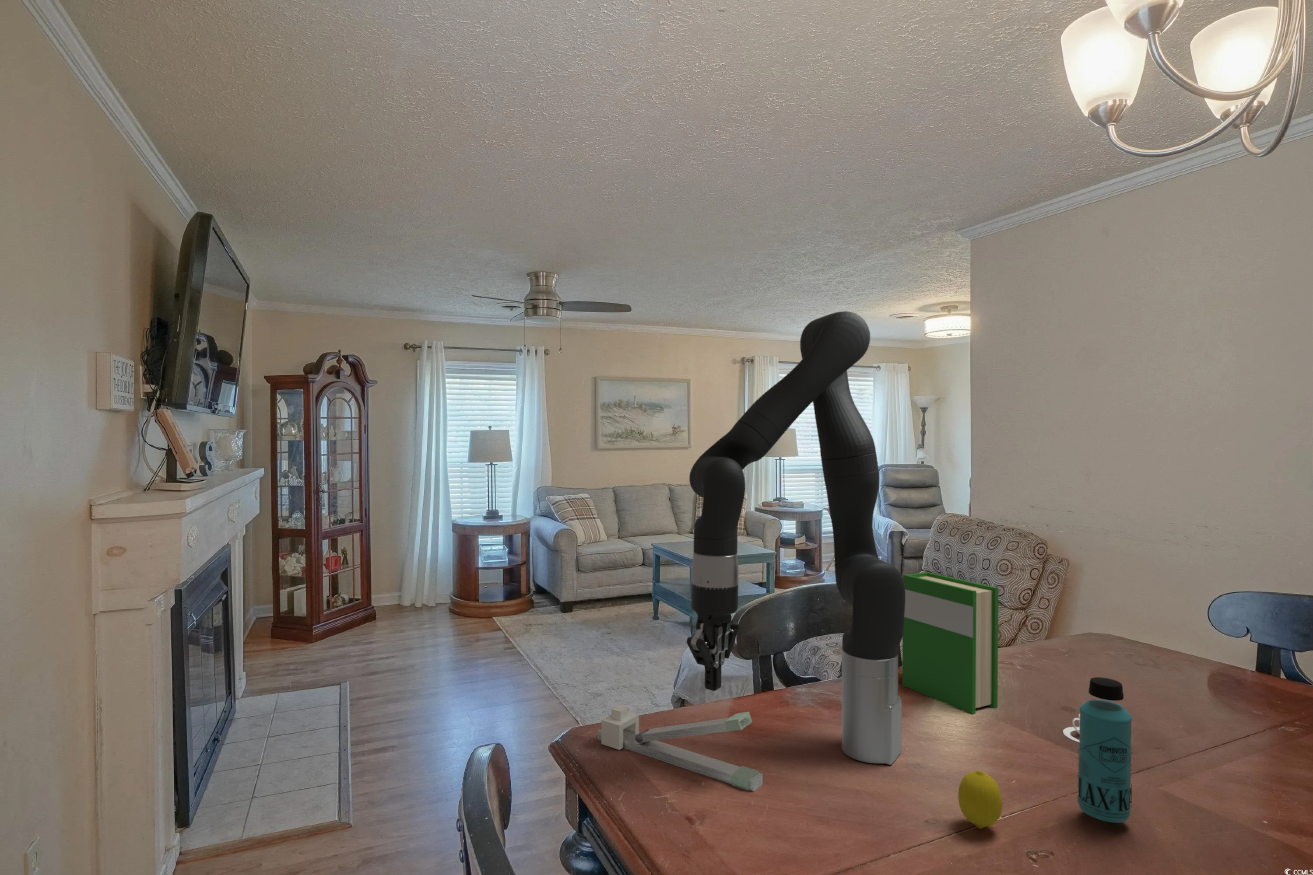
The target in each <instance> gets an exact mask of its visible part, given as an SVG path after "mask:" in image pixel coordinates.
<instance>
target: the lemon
mask: <svg viewBox="0 0 1313 875" xmlns="http://www.w3.org/2000/svg"><path fill="white" fill-rule="evenodd" d="M959 783H960V784H959V787H958V795H957V797H958V799H957V800H958V805H959V808H960V811H961V812H962V814H963V816H964V817H965V819H966V820H968V821H969V822H970V823H972V824H973V825H974V826H975V827H976V828H978V829H981V830H982V829H983V828H985V827H991V826H993V825H995V824H996V823H997V822H998V821H999V819H1000V818H1001V815H1002V810H1003V797H1002V793H1001V788H1000V786H999V785H998V783H997V781H996V780H995V779H994V778H993V777H992V776H990V775H989V774H987V773H986V772H984V771H983V770H981V769H977V770H976V771H975V770H974V771H969V772H968V773H967V774H965V775H964V776H963V777H962V779H961V781H960V782H959Z"/></svg>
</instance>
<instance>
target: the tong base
mask: <svg viewBox="0 0 1313 875" xmlns="http://www.w3.org/2000/svg"><path fill="white" fill-rule="evenodd" d="M649 730H650V729H649V728H646V729H644V730H642V731H639V734H634V733H631V732H628V731H625V730H623V748H622V749H624V750H629V751H630V752H634V753H637V754H640V755H643V756H646V757H650V758H652V759H655V760H657V761H661V762H664V763H667V764H671V765H673V766H676V767H679V768H682V769H685V770H687V771H691V772H694V773H695V774H696V773H697V774H700V775H702V776H706V777H709V778H712V779H714V780H715V779H716V780H718V781H720V782H724V783H727V784H730V785H731V786H732V787H735V788H738V789H741V790H744V791H746V792H747V791H748V792H750V791H751V792H755V791H756V790H758V788H760V786H762V785H763V784H764V783H763V782H764V779H763V776H764V774H763V773H760V771H759V770H757V769H754V768H750V767H747V766H744V765H742V766H738V765H736V764H732V763H729V762H725V761H722V760H719V759H716V758H713V757H710V756H706V755H704V754H701V753H698V752H694V751H691V750H688V749H685V748H681V747H678V746H675V745H672V744H668V743H666V742H663V741H660V740H655V741H647V742H643V739H642V734H644V733H645V732H647V731H649ZM596 732H597V733H596V734H597V735H596V736H597V737H596V738H597V740H598V741H601V729H599V730H597V731H596Z"/></svg>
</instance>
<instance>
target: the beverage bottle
mask: <svg viewBox="0 0 1313 875" xmlns="http://www.w3.org/2000/svg"><path fill="white" fill-rule="evenodd" d="M1088 693H1089V695H1091V696H1092V697H1095V699H1094V698H1093V699H1090V700H1087V701H1085V702H1084V703H1083V704H1081V705H1080V706H1079V712H1080V713H1079V714H1080V730H1079V732H1080V734H1079V739H1078V740H1079V742H1078V743H1079V746H1078V751H1077V753H1078V756H1077V767H1078V771H1077V774H1076V775H1077V788H1078V789H1077V797H1076V802H1077V804H1078V807H1079V809H1080V810H1081V811H1082V812H1083V813H1085V814H1086V815H1087V816H1090V817H1091V818H1095V819H1097V820H1099V821H1104V822H1109V823H1118V824H1119V823H1125V822H1127V821H1128V820H1129V818H1130V816H1131V815H1132V796H1133V795H1132V793H1133V792H1132V791H1133V789H1132V788H1133V787H1132V786H1133V785H1132V783H1131V781H1132V775H1133V774H1132V755H1133V749H1132V721H1133V717H1132V715H1131V714H1130V712H1129V711H1128V710H1127V709H1125V707H1123V706H1122V705H1121V704H1119V703H1117V702H1118V701H1122V700H1124V690H1123V684H1122V683H1121V682H1120V681H1119V680H1115V679H1112V678H1108V677H1101V676H1100V677H1099V676H1098V677H1097V676H1096V677H1092V678H1090V680H1089V686H1088ZM1113 701H1114V702H1113ZM1115 701H1117V702H1115Z"/></svg>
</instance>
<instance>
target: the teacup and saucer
mask: <svg viewBox="0 0 1313 875" xmlns="http://www.w3.org/2000/svg"><path fill="white" fill-rule="evenodd" d="M1075 721H1078V726H1076V724H1075V723H1076V722H1075ZM1071 722H1072V726H1069V727H1065V728H1064V729H1063V730H1062V732H1063V733H1062V734H1063V735H1064V736H1065V737H1066V738H1068V739H1070V740H1072V741H1074V742H1077V743H1079V739H1077V738H1076V737H1073V735H1072V734H1071V733H1072V732H1074V731H1076V732H1077V733H1078V734H1079V735H1080V713H1079V714H1078V717H1074V718H1073V719H1072V720H1071Z"/></svg>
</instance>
